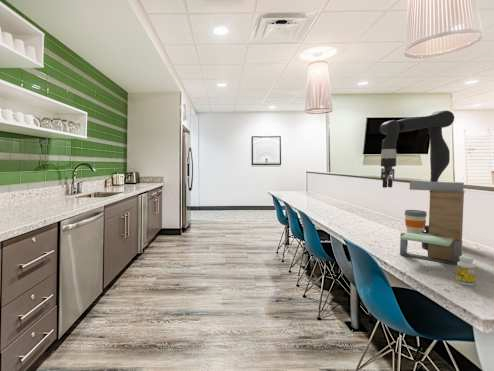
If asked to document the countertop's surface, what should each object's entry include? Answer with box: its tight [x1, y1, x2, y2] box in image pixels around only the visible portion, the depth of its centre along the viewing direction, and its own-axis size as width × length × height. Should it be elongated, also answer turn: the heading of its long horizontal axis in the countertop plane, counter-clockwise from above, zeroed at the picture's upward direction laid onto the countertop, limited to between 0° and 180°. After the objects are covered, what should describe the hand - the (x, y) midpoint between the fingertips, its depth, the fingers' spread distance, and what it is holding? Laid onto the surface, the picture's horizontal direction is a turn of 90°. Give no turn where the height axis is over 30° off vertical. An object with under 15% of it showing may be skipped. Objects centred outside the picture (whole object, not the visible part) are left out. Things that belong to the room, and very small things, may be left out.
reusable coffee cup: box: [404, 209, 428, 234], centre depth 186 cm, size 13×13×15 cm
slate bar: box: [409, 181, 465, 192], centre depth 135 cm, size 4×21×4 cm, turn 47°
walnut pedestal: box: [427, 190, 465, 261], centre depth 133 cm, size 8×12×32 cm
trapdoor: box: [400, 232, 453, 246], centre depth 127 cm, size 14×18×1 cm
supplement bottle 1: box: [421, 224, 429, 250], centre depth 151 cm, size 7×7×12 cm
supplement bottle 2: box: [456, 255, 476, 286], centre depth 104 cm, size 5×5×10 cm
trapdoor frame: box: [399, 232, 463, 266], centre depth 132 cm, size 3×24×10 cm, turn 47°
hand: (387, 187), depth 155 cm, fingers open, 8 cm apart
